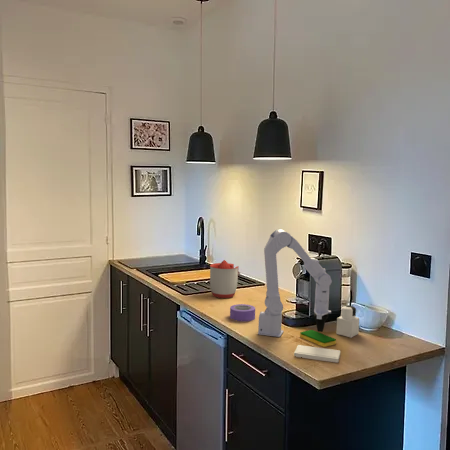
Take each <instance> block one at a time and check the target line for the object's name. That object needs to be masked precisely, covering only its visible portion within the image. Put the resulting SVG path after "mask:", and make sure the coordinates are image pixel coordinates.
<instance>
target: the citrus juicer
mask: <svg viewBox="0 0 450 450" xmlns="http://www.w3.org/2000/svg"><path fill="white" fill-rule="evenodd" d="M234 265H235V264H234V263H231V262H230V263H229V262H228V261H227V260H225V259H224V260H222V261H221V262H218V263H216V262H215V263H211V264H210V265H209V267H210V268H209V269H210V271H209V283H210V284H209V286H210V291H211V294H212V296H213V297H215V298H219V299H229V298H233V297H235V295H236V291H237V287H238V279H239V278H238V276H239V275H241V272H240V271H239V265H237V266H236V267H235V266H234Z"/></svg>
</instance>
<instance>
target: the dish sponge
mask: <svg viewBox="0 0 450 450" xmlns="http://www.w3.org/2000/svg"><path fill="white" fill-rule="evenodd" d="M299 338H301V339H304V340H306V341H309V342H310V343H312V344H313V343H314V344H316V345H318V346H320V347H322V348H326V347H330V346H333V345H336V344H337V338H334V337H331V336H329V335H327V334H324V333H322V332H318V331H317V330H314V329H309V330H305V331H300V332H299Z"/></svg>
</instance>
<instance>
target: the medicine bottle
mask: <svg viewBox="0 0 450 450" xmlns="http://www.w3.org/2000/svg"><path fill="white" fill-rule="evenodd" d="M356 314H357V308H356V307H355V306H353V305H343V306H341V312H340V316H339V317H337V318H336V329H335V333H336V335H339V336H344V337H348V338H353V337H355V336H357V335H359V332H360V331H359V330H360V329H359V328H360V317H358V316H356Z"/></svg>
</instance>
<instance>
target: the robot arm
mask: <svg viewBox="0 0 450 450" xmlns="http://www.w3.org/2000/svg"><path fill="white" fill-rule="evenodd" d="M286 247H287V248H288V249H290V250H293V252H295V254H297V256H298V257H299V258H300V259H301V260H302V261H303V268H304V269H306V271H307V273H309V275H310V276H311V277H312V278H313V280H314V282H315V294H314V309H313V312H314V314H313V318H314V320H315V323H316V332H319V333H322V332H323V331H324V329H325V324H326V321H327V319H328V318H329V314H332V310H329V304H330V301H329V299H330V286H331V284H332V283H333V280H332V278H331V277H332V276H331V275H330V274H328V273H327V272H326V271H327V270H326V268H323V267H322V265H321V264H320V260H318V259H316V258H315V257H310V256H309V255H308V253H307V252H306V251H305V249H304V248H303V246H302V245H301V244H300V242H299V241H298V240H297V239H296V238H294V237H293V236H292V235H291V233H289V232H288V231H286V230H284V229H282V228H278V229H276V230H275V229H274V231H273V232H272V233H271V234H270V235H269V238H268V240H267V243H266V245H265V246H264V249H263V252H264V253H263V255H264V266H265V267H264V268H265V280H266V293H265V295H266V297H265V298H264V305H265V307H266V309H265V310H264V311H260V312H259V315H258V327H257V328H258V332H257V334H258V335H260V336H267V337H270V336H271V337H277V338H281V337H282V334H283V333H284V330H283V329H282V323H283V322H282V321H283V319H282V317H283V309H284V303H282V301H281V295H280V292H279V291H280V289H279V277H278V276H279V275H278V274H279V273H278V262H277V261H278V259H277V254H278V253H279V252H280V251H281V250H282V249H284V248H286Z"/></svg>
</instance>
